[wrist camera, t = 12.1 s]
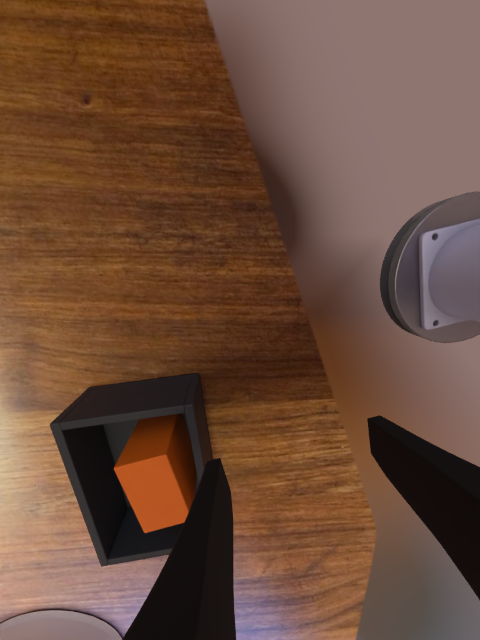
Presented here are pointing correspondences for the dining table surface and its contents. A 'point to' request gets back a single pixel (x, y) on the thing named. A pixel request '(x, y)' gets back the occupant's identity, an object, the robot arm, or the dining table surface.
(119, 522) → the open box
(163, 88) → the dining table surface
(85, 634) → the vase
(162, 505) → the block
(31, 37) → the dining table surface
